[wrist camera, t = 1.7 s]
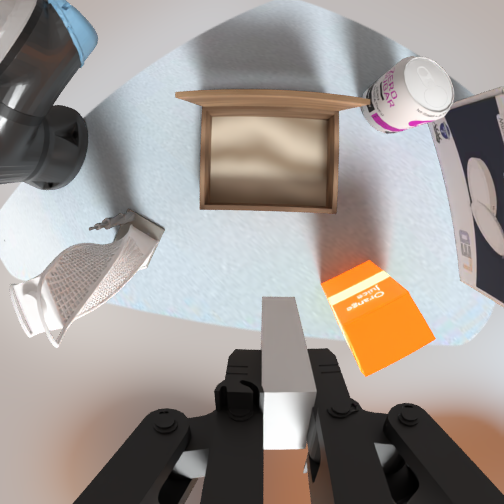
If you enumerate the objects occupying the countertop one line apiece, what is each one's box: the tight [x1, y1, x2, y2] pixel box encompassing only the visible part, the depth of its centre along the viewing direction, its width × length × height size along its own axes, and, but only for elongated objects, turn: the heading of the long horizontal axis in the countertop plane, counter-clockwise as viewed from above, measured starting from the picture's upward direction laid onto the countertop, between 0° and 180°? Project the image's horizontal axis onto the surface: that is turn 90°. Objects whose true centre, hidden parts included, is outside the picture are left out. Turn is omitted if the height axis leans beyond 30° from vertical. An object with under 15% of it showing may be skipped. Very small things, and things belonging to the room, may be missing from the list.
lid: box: [175, 89, 370, 111], centre depth 29 cm, size 1×17×13 cm, turn 89°
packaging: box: [428, 86, 504, 307], centre depth 32 cm, size 30×6×20 cm, turn 19°
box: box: [200, 106, 339, 214], centre depth 40 cm, size 14×18×5 cm
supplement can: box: [361, 56, 454, 134], centre depth 32 cm, size 8×8×15 cm
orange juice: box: [321, 260, 435, 376], centre depth 36 cm, size 8×9×20 cm
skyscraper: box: [10, 209, 165, 348], centre depth 32 cm, size 8×8×28 cm
